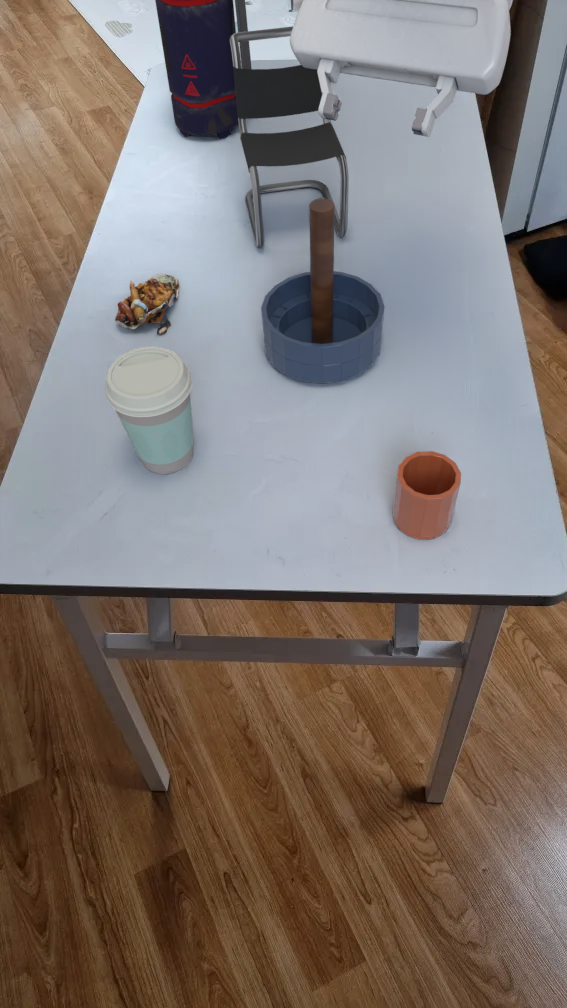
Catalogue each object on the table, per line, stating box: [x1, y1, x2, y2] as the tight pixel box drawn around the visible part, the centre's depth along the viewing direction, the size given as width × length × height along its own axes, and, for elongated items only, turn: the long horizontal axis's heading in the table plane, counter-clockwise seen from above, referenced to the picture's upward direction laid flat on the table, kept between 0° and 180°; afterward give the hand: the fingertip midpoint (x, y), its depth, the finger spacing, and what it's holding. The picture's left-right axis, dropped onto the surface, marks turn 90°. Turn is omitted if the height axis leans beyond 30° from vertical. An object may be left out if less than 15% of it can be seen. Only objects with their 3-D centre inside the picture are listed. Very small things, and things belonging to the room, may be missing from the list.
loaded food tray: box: [114, 273, 180, 336], centre depth 94 cm, size 7×12×4 cm, turn 173°
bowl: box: [260, 270, 385, 384], centre depth 86 cm, size 14×14×6 cm
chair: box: [230, 25, 350, 248], centre depth 98 cm, size 13×17×22 cm
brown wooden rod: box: [308, 198, 336, 344], centre depth 81 cm, size 3×3×18 cm
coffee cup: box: [104, 345, 194, 475], centre depth 74 cm, size 8×8×12 cm
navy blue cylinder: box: [154, 0, 253, 140], centre depth 114 cm, size 14×12×30 cm
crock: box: [392, 450, 462, 541], centre depth 70 cm, size 6×6×6 cm
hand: (372, 125), depth 68 cm, fingers open, 8 cm apart
